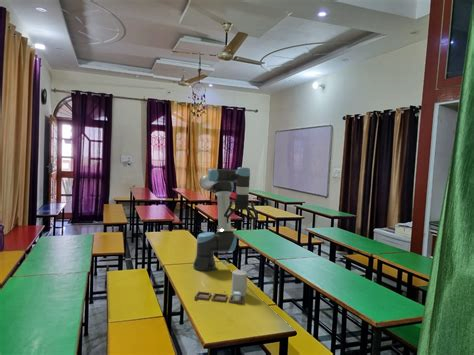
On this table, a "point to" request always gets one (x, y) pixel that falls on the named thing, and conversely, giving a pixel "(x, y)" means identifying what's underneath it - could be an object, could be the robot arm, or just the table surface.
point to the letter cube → (236, 296)
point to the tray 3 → (236, 301)
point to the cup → (239, 281)
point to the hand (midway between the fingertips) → (240, 229)
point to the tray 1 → (202, 295)
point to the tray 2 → (219, 297)
